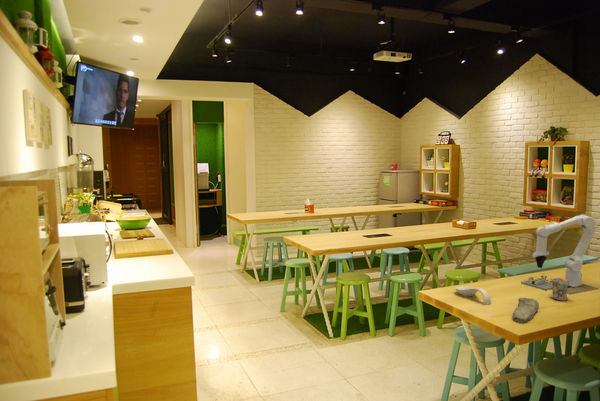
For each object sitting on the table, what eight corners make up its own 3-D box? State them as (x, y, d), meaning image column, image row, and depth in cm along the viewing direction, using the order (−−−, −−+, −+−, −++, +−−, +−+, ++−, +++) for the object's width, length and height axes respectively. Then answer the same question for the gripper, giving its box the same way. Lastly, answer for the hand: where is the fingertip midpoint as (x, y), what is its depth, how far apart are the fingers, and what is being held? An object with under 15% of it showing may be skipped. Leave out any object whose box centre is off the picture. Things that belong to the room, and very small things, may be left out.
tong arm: (542, 280, 285) (542, 275, 285) (548, 282, 282) (549, 276, 282) (530, 283, 279) (531, 277, 278) (537, 285, 275) (537, 279, 275)
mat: (535, 280, 290) (535, 278, 290) (560, 286, 276) (560, 285, 276) (520, 283, 282) (521, 282, 282) (545, 290, 269) (545, 289, 268)
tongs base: (541, 280, 286) (541, 276, 285) (546, 282, 283) (546, 277, 282) (529, 283, 280) (529, 278, 279) (534, 284, 277) (534, 280, 276)
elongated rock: (507, 323, 221) (529, 329, 215) (508, 313, 220) (530, 319, 214) (521, 300, 249) (541, 305, 243) (522, 291, 248) (542, 296, 242)
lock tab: (530, 280, 285) (531, 276, 284) (533, 281, 283) (533, 277, 283) (528, 281, 284) (528, 277, 283) (530, 281, 282) (531, 277, 282)
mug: (572, 301, 249) (573, 283, 248) (555, 301, 249) (557, 282, 248) (559, 294, 261) (561, 276, 260) (543, 294, 261) (545, 276, 260)
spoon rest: (450, 292, 263) (451, 280, 262) (467, 290, 267) (468, 279, 266) (479, 306, 241) (480, 293, 240) (496, 304, 245) (497, 291, 244)
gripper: (542, 243, 288) (540, 264, 290) (528, 246, 281) (526, 267, 283) (553, 246, 282) (551, 267, 284) (538, 248, 275) (537, 270, 277)
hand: (539, 267), depth 283 cm, fingers closed
